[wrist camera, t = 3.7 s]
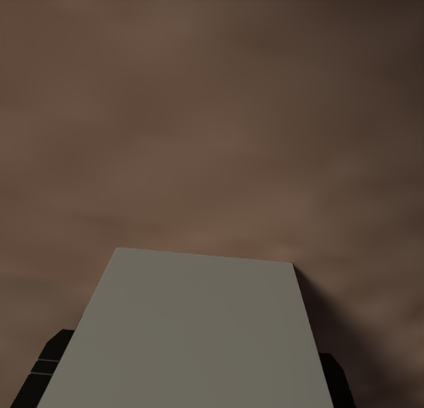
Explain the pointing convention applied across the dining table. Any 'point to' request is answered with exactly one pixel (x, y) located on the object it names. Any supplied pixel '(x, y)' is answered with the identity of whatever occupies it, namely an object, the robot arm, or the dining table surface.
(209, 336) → the brick
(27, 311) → the dining table surface
